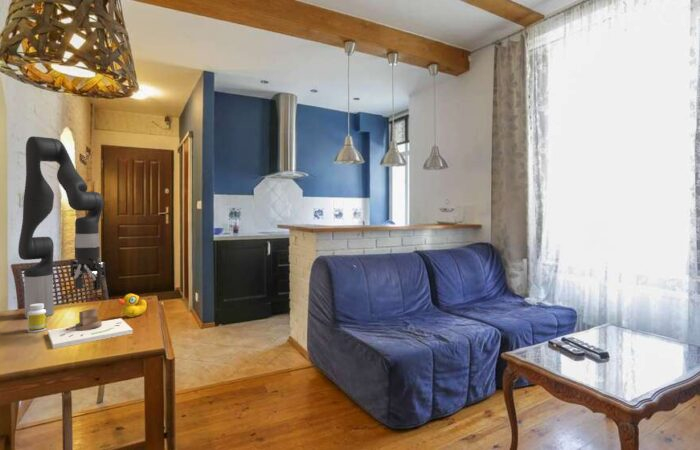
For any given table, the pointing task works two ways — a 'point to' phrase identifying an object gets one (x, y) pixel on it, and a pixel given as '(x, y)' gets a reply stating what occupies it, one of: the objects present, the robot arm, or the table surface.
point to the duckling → (132, 305)
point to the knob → (87, 320)
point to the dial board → (88, 333)
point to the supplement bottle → (37, 318)
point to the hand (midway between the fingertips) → (88, 289)
